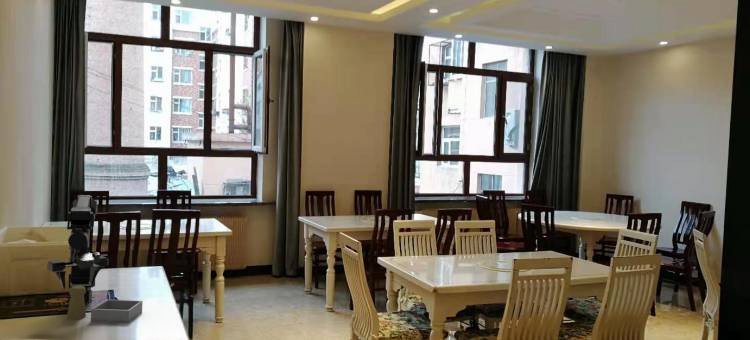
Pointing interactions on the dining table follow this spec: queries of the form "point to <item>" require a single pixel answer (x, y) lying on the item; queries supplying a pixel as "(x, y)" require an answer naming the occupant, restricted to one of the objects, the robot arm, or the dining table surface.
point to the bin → (116, 311)
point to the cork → (76, 303)
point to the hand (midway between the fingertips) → (77, 287)
